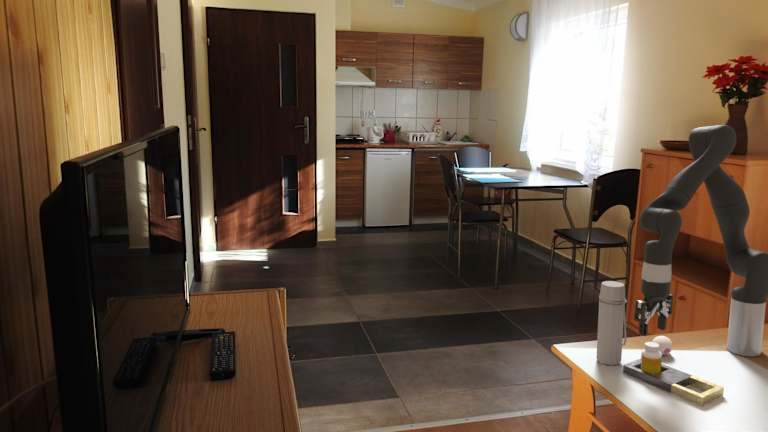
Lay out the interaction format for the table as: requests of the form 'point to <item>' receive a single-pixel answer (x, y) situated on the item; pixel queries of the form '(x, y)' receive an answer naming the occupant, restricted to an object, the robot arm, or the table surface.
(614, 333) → the water bottle
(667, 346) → the stress ball
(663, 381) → the rail
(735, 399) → the table surface
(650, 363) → the supplement bottle
